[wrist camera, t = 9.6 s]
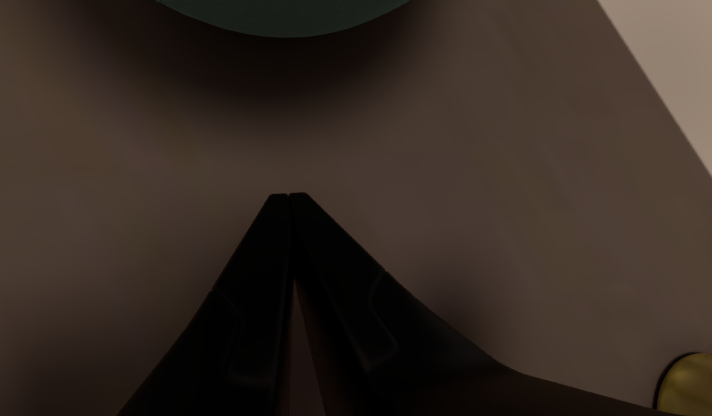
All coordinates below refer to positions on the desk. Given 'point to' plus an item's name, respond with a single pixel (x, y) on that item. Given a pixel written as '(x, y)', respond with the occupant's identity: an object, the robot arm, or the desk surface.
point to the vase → (688, 387)
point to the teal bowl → (284, 15)
